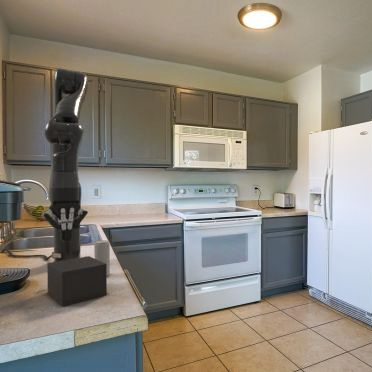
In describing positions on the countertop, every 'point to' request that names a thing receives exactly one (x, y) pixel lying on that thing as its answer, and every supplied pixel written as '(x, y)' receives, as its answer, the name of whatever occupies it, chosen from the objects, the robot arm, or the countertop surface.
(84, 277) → the dark grey lidded box
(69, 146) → the robot arm
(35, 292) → the countertop surface
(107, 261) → the beverage can
